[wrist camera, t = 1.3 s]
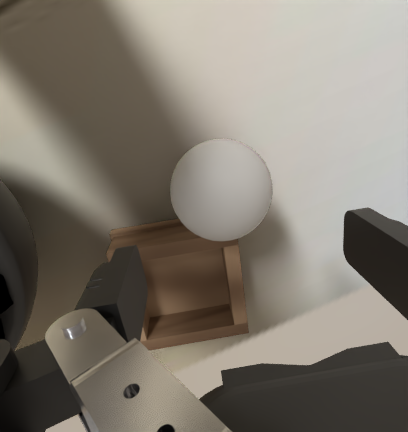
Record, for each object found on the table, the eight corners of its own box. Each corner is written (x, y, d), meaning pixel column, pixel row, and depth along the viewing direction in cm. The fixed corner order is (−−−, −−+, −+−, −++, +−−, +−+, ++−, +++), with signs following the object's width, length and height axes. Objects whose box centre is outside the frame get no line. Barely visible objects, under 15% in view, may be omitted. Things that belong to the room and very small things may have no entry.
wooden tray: (111, 229, 27) (101, 250, 23) (231, 209, 27) (240, 227, 23) (139, 324, 31) (134, 355, 27) (243, 306, 31) (252, 334, 28)
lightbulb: (197, 111, 24) (212, 121, 14) (258, 152, 25) (311, 189, 15) (159, 174, 25) (146, 225, 15) (217, 210, 27) (241, 277, 17)
